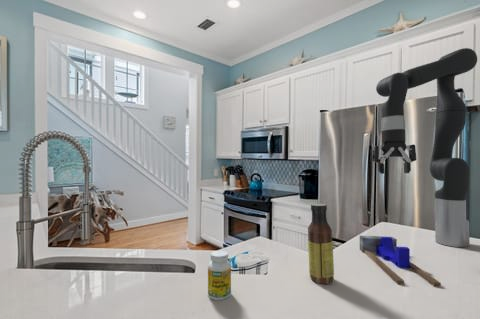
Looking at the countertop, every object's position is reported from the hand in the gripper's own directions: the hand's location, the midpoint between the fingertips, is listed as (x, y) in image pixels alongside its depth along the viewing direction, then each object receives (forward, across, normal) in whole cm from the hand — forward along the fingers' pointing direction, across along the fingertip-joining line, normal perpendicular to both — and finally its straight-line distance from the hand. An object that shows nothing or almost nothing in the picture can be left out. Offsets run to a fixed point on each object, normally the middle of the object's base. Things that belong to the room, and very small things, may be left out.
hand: (394, 173), depth 91 cm
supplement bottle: (+26, +58, +40) cm, 75 cm away
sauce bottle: (+27, +33, +29) cm, 51 cm away
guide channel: (+27, +9, +16) cm, 33 cm away
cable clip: (+28, +7, +12) cm, 31 cm away
